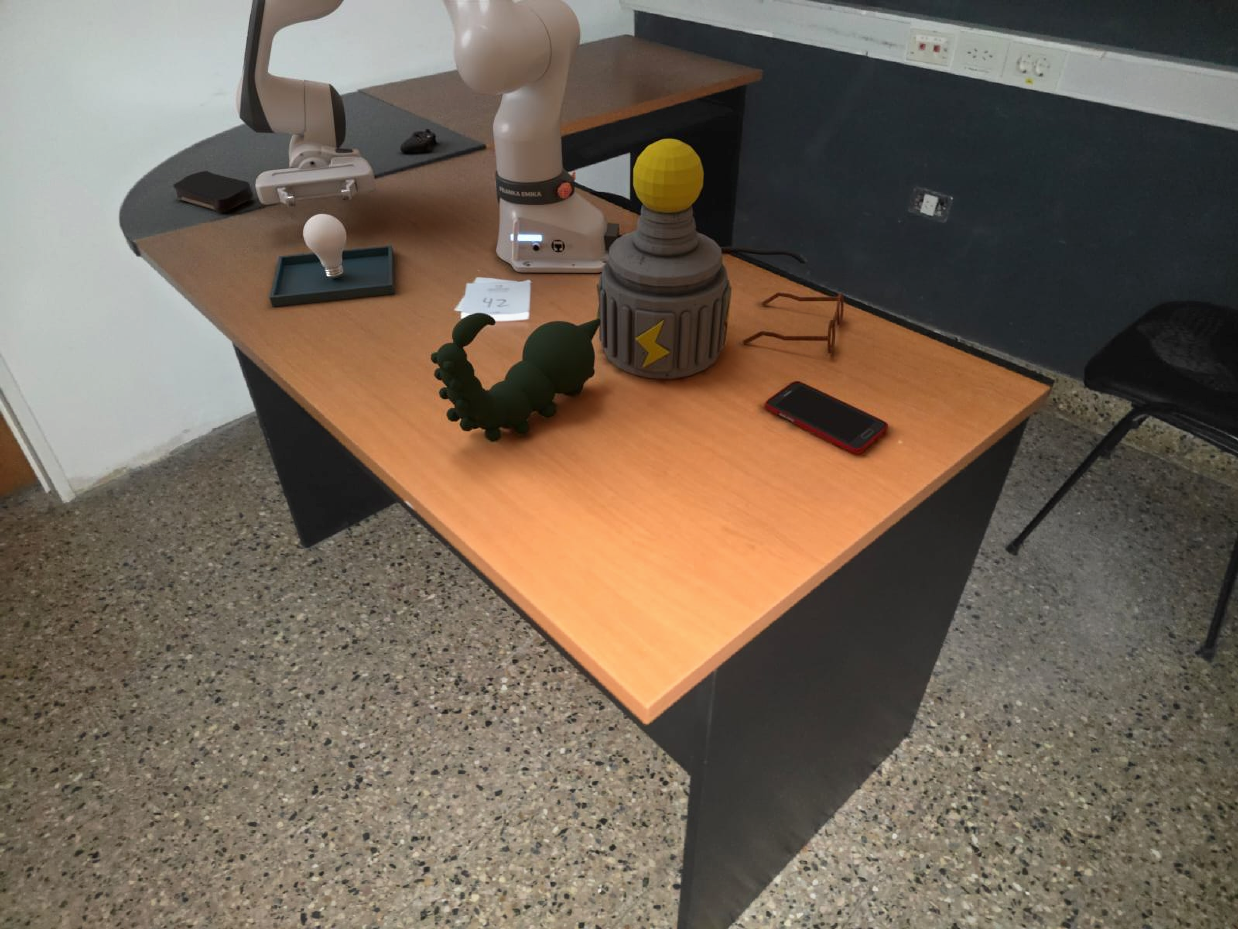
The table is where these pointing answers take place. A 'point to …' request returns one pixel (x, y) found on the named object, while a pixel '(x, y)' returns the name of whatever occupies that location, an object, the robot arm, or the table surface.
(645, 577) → the table surface
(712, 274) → the decorative lamp
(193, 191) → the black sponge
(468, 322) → the toy figurine
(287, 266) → the tray
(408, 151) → the game controller
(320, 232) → the light bulb
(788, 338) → the glasses
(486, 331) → the table surface
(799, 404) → the cell phone
